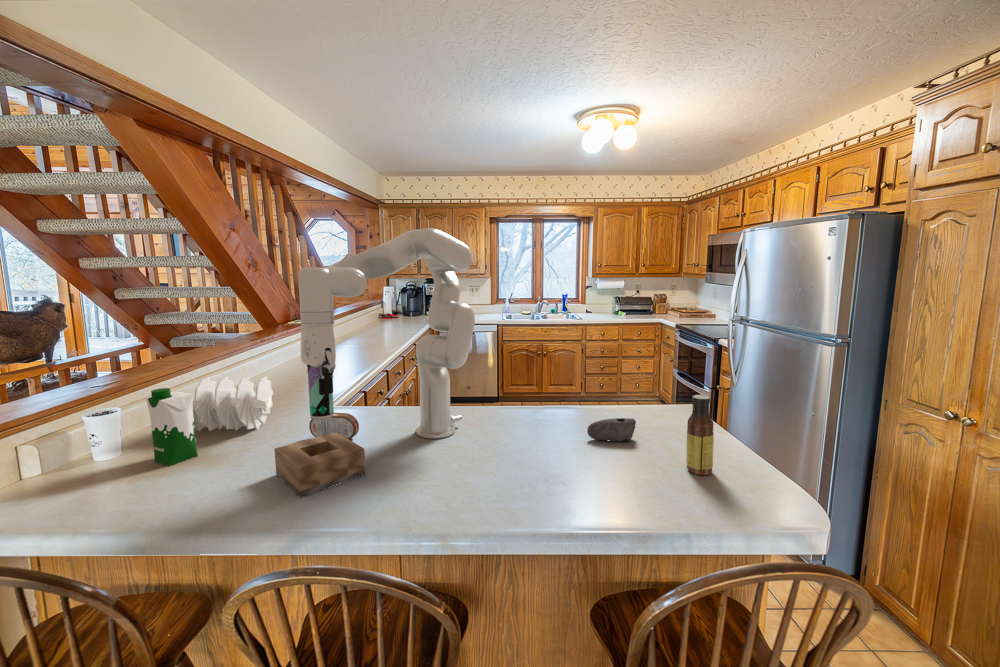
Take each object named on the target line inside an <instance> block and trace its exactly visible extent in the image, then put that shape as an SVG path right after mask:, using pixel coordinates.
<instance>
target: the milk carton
mask: <svg viewBox="0 0 1000 667" xmlns="http://www.w3.org/2000/svg"><path fill="white" fill-rule="evenodd" d="M150 392H151V393H150V395H151V396H148V397H145V400H146V405H147V409H148V412H149V416H150V417H149V418H150V426H151V436H152V445H153V453H154V454H153V456H154V462H156V463H159V464H161V465H162V464H163V465H165V466H169V467H170V466H173V465H176V464H179V463H182V462H185V461H187V459H188V460H191V459H193V458H196V457H198V449H197V438H196V431H195V430H196V429H195V428H194V417H193V401H194V393H190V392H183V391H178V390H176V391H171V388H167V387H165V388H164V387H163V388H155V389H153V390H151V391H150ZM195 456H196V457H195ZM192 457H193V458H192Z"/></svg>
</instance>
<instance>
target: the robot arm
mask: <svg viewBox="0 0 1000 667" xmlns="http://www.w3.org/2000/svg"><path fill="white" fill-rule="evenodd" d="M472 253H473V252H472V250H471V249H470V248H469V245H467V244H465V243H464V242H463V241H461V240H459V239H456V238H455V237H454V236H452V235H451V234H448V233H446V232H444V231H442V230H440V229H437V228H434V227H430V228H429V227H427V228H418V229H412V230H408V231H405V232H404V233H401V234H399V235H397V236H395V237H393V238H391V239H389V240H388V241H385V242H383V243H381V244H379V245H377V246H375V247H372V248H371V247H370V248H369V249H366V250H363V251H362V252H359V253H356V254H353V255H351V256H348V257H346V258H343V259H341V260H339V261H336V262H334V263H332V264H331V265H328V266H326V267H316V266H315V267H310V266H309V267H302V268H301V269H299V270H298V292H299V296H298V297H299V310H300V311H299V313H300V314H299V315H300V326H301V333H300V360H301V362H302V364H305V365H306V367H307V368H308V365H310V366H313V367H318V368H319V373H320V379H319V394H320V395H325V394H330V393H333V394H334V372H335V369H336V367H337V366H336V360H337V358H336V356H337V355H336V339H335V333H334V327H333V325H334V326H335V311H334V305H335V304H334V297H340V298H355V297H358V296H360V295H362V294H363V293H364V292H365V291H366V289H367V286H368V280H372V279H376V278H377V279H378V278H383V277H387V276H390V275H394V274H395V273H398V272H399V271H401V270H403V269H405V268H406V267H409V266H410V265H412V264H413V263H415V262H417V261H418V260H421V259H422V260H423V259H424V264H425V265H426V267H427V269H428V271H429V272H430V274H431V276H432V280H433V284H434V285H433V291H432V292H433V293H432V297H431V300H430V305H429V308H428V315H427V324H428V327H429V328H430V329H431V330H434V331H437V332H443V333H447V336H446V335H440V334H427V335H426V334H425V335H423V336H422V337H421V338H419V340H418V341H417V343H416V345H415V358H416V361H417V367H418V372H419V374H418V375H419V402H420V403H419V409H420V411H419V412H420V415H419V416H420V425H418V426H417V427H416V428H415V434H416V435H417V436H418V437H421V438H423V439H432V440H433V439H442V438H443V439H444V438H447V437H450V436H452V435H454V434H455V432H456V426H455V425H454V424H455V423H456V422H457V423H458V422H460V421H462V420H463V417H462V415H461V414H458V415H455V416H454V415H453V414H451V378H450V372H449V370H448V369H453V370H454V369H455V370H456V369H460V368H461V367H463V366H464V364H465V363H466V361H467V359H468V356H469V352H470V348H471V344H472V339H473V336H474V335H473V333H474V331H475V324H476V322H475V321H476V317H475V312H474V310H473V309H472V307H471V306H470V304H467V303H466V302H465V303H464V302H460V296H461V283H460V280H459V278H458V276H457V274H456V273H459V272H464V271H466V270H468V269H469V268H470V267H471V266H472V263H473V254H472ZM307 351H308V355H307ZM308 356H309V357H308ZM323 363H327V365H322V364H323ZM323 368H327V369H325V370H324V372H323ZM306 371H307V373H308V369H307V370H306Z"/></svg>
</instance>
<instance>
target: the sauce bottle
mask: <svg viewBox="0 0 1000 667" xmlns="http://www.w3.org/2000/svg"><path fill="white" fill-rule="evenodd" d="M691 401H692V412H691V414H690V416H689V418H688V419H687V429H686V469H687V471H689V473H691V474H693V473H694V474H695V475H698V476H709V475H711V474H712V473H713V467H714V445H715V444H714V443H715V441H714V440H715V439H714V436H715V435H714V434H715V433H714V421H713V420H712V419H713V418H712V417H711V416H710V411H709V409H710V402H711V398H710V397H709V396H708V395H704V394H695V395H692V397H691Z"/></svg>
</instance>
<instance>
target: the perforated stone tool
mask: <svg viewBox="0 0 1000 667" xmlns="http://www.w3.org/2000/svg"><path fill="white" fill-rule="evenodd" d="M636 421H637V420H635V418H622V417H620V418H619V417H617V418H616V417H615V418H607V419H602V420H601V419H600V420H596V421H594V422H593V423H590V425H588V427H587V435H588V437H590V438H591V439H593V440H596V439H597V441H601V440H602V441H605V440H610V441H609V442H614V441H619V442H623V441H625V440H629V442H630V441H631V440H632V438H633V436H634V433H635V428H636Z"/></svg>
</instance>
